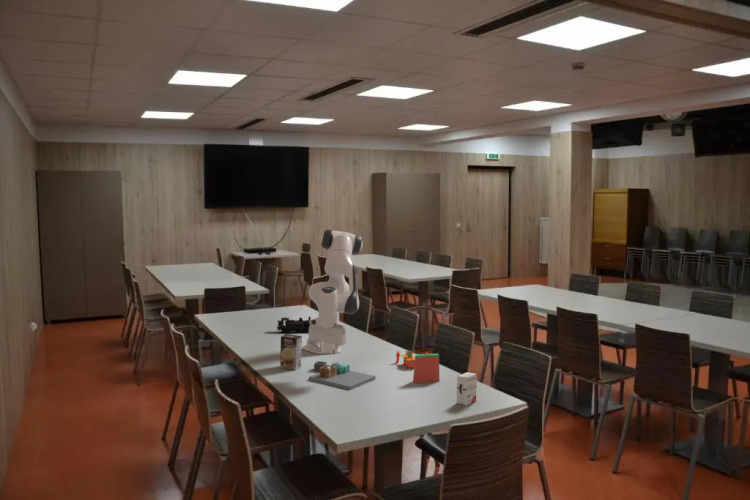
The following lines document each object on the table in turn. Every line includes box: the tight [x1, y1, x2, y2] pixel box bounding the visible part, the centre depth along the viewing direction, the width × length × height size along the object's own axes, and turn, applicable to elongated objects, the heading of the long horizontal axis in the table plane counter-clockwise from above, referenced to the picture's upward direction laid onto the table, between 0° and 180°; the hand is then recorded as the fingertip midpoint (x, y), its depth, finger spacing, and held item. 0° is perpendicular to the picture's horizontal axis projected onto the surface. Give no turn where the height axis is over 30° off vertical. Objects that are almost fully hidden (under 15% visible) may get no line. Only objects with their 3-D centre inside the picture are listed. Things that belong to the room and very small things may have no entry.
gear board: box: [308, 361, 376, 391], centre depth 275 cm, size 24×20×6 cm
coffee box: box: [279, 333, 303, 371], centre depth 292 cm, size 9×6×16 cm
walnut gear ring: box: [319, 364, 337, 378], centre depth 275 cm, size 6×7×4 cm
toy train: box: [276, 316, 312, 334], centre depth 372 cm, size 8×25×10 cm, turn 99°
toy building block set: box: [395, 350, 440, 384], centre depth 291 cm, size 12×35×14 cm, turn 15°
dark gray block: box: [313, 360, 328, 372], centre depth 290 cm, size 5×5×4 cm
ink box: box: [456, 372, 478, 406], centre depth 247 cm, size 8×5×12 cm, turn 140°
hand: (326, 351), depth 275 cm, fingers open, 8 cm apart
